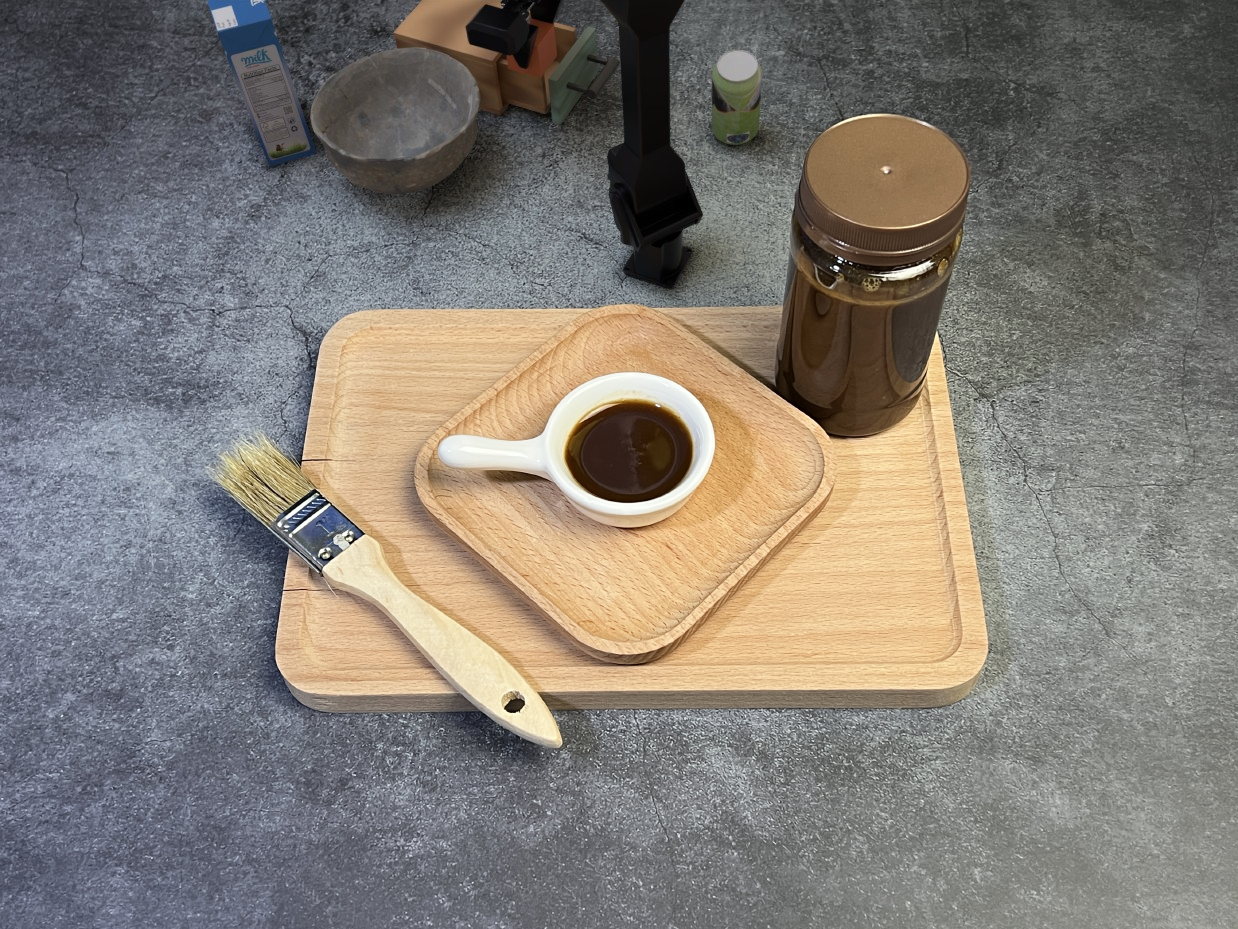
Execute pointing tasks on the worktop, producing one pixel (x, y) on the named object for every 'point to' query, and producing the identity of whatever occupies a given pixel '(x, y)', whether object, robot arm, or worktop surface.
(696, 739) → the worktop surface
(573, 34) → the drawer
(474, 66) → the cabinet
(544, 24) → the block
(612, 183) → the robot arm
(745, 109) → the beverage can
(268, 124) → the milk carton
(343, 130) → the bowl
